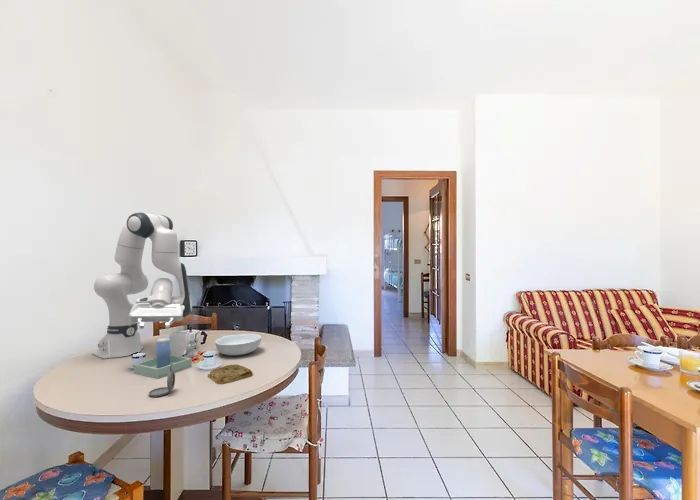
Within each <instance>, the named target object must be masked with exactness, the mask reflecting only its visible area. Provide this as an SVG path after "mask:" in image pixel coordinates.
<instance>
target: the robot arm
mask: <svg viewBox="0 0 700 500" xmlns="http://www.w3.org/2000/svg"><path fill="white" fill-rule="evenodd" d="M173 229H174V224H173V221H172V219H171V218H170V217H168V216H167V215H164V214H158V213H153V212H149V213H148V212H135V213H134V212H133V213H132V214H131V215H129V216H128V217H127V219H126V224H124V225H123V227H122V229H121V231H120V234H119V236H118V240H117V245H116V247H115V248H116V249H115V254H114V261H115V262H116V263H117V264H118V265H119V266H120V272H119V273H118V272H117V273H108V274H104V275H101V276H99V277H97V278H96V279H95V281H94V283H93V291H94V292H95V294H96V295H97V296H99V297H100V298H102V300H103V301H104V303H106V306H107V309H108V310H107V311H108V320H109V322H108V323H109V324H108V326H106V329H107V331H106V334H105V335H104V336H103V337H102V338H101V339H100V340H99V341H98V343H97V348H98V349H97V350H94V351H92V355H94V356H96V357H97V358H98V357H99V359H111V358H121V357H127V356H132V355H131V354H133V353H135V352H138V353H140V352H141V351H142V350H143V349H144V346H142V344H141V334H140V332H138V330H139V329H140V330H141V329H142V330H143V329H145V323H153V322H154V323H155V322H156V323H160V322H161V323H163V322H165V329H170V327H171V325H172V324H173V323H174V322H181V321H183V319H184V318H186V317H188V316H189V315H190V314H191V313H192V311H193V302H192V299H191V295H190V289H189V287H190V286H189V280H188V274H187V270H186V269H187V268H186V266H185V264H184V263H182V261H181V260H180V258H179V254H178V253H179V242H178V241H179V240H178V236H177V233H176V232H175V230H173ZM148 238H149V239H150V241H151V262H152V265H153V266H154V267H155V268H156V269H158V270H159V271H162V272H164V273H166V274H170V275H172V276H174V277H175V278H176V279H177V282H178V287H179V296H173V292H174V287H173V285H174V284H173V281H172V280H171V279H170V278H166V277H159V278H157V279H156V280H155V281H154V282H153V284H152V287H151V291H150V295H149V296H145V297H141V298H137V299H136V301H135V304H133V303H132V302H130V301H129V297H128V296H129V295H136V294H139V293H141V292H144V291H146V290H147V288H148V287H149V286H148V285H149V279H148V277H147V275H145V274H144V271H143V268H142V261H143V255H144V250H145V245H146V240H147V239H148ZM138 327H139V329H138ZM133 355H134V354H133Z"/></svg>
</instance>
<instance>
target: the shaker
mask: <svg viewBox="0 0 700 500" xmlns="http://www.w3.org/2000/svg"><path fill="white" fill-rule="evenodd" d="M155 346H156V347H155V352H156V353H155V354H156V355H155V358H156V368H162V367H165V366H168V365H170V355H171V351H170V340H169V336H165V337H159V338H157V339H156V343H155Z"/></svg>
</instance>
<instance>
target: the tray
mask: <svg viewBox="0 0 700 500" xmlns="http://www.w3.org/2000/svg"><path fill="white" fill-rule="evenodd" d="M172 363H173V365H171V364H172ZM170 366H172V369H171V370H174V372H175V373H177V372H180V371H183V370H186V369H189V368H192V367H193V365H192V358H191V357H185V356H181V357H180V356H174V355H171V354H170V365H168V366H165V367H162V368H156V357H155V358H151V359H148V360H145V361H142V362H138V363H134V364H133V374H136V375H141V376H144V377H149V378H153V379H162V378H164V377H166V376H167V377H168V373H169V371H170Z"/></svg>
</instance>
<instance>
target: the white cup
mask: <svg viewBox="0 0 700 500" xmlns="http://www.w3.org/2000/svg"><path fill="white" fill-rule="evenodd" d="M168 335H169V336H168V337H169V341H170V355H174V356H181V357H183V356H182V355H183V354H184V351H185V350H186V348H187V349H188V341H189V340H188V338H189V333H188V332H186V331H179V332H173V333H170V334H168Z"/></svg>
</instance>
